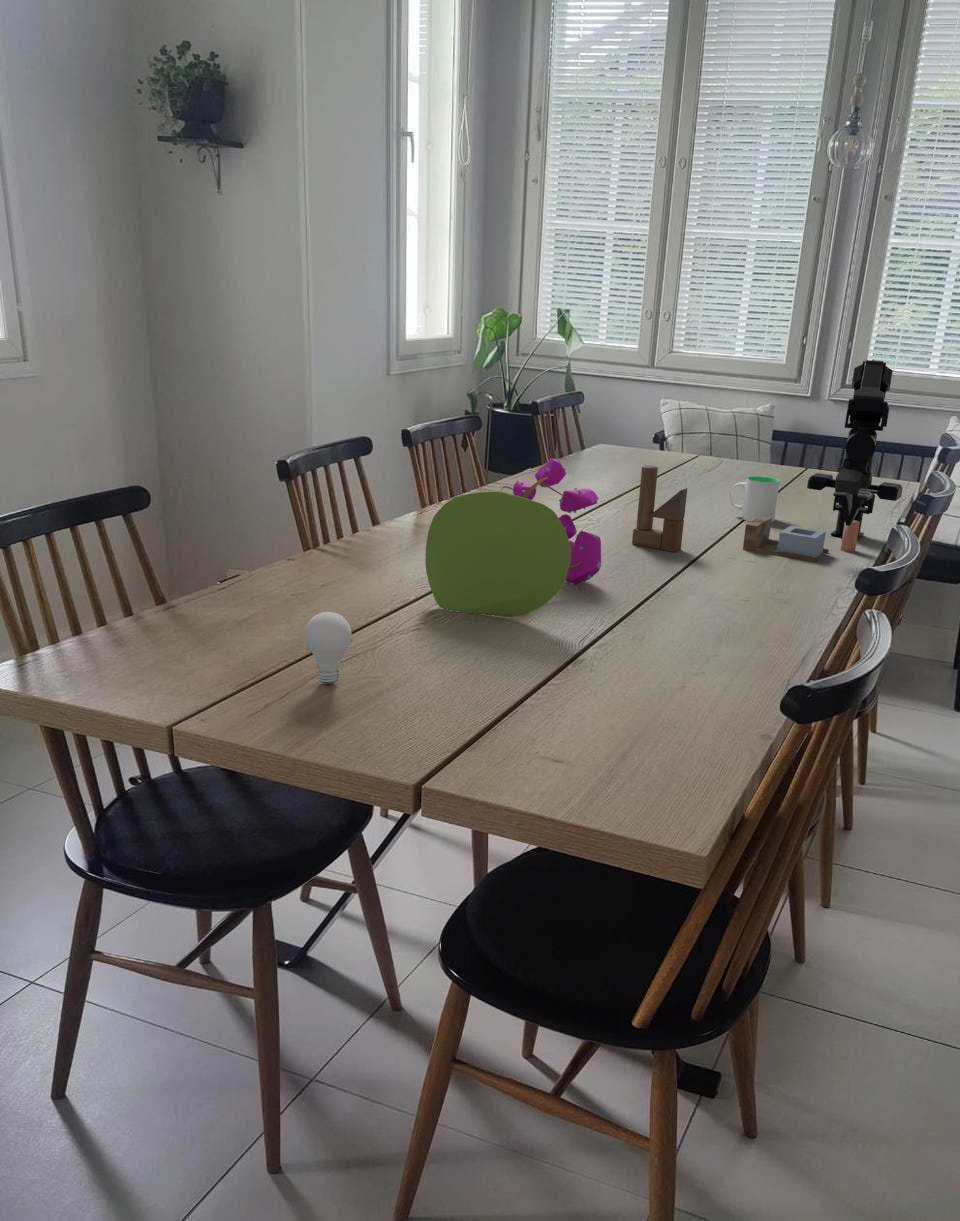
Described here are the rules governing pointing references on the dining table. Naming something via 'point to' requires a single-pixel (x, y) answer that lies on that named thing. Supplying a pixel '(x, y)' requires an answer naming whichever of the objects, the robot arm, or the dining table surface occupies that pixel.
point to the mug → (758, 497)
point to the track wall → (766, 539)
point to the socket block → (801, 541)
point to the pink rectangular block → (850, 537)
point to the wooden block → (658, 515)
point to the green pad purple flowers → (509, 548)
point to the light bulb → (328, 643)
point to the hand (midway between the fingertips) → (848, 525)
